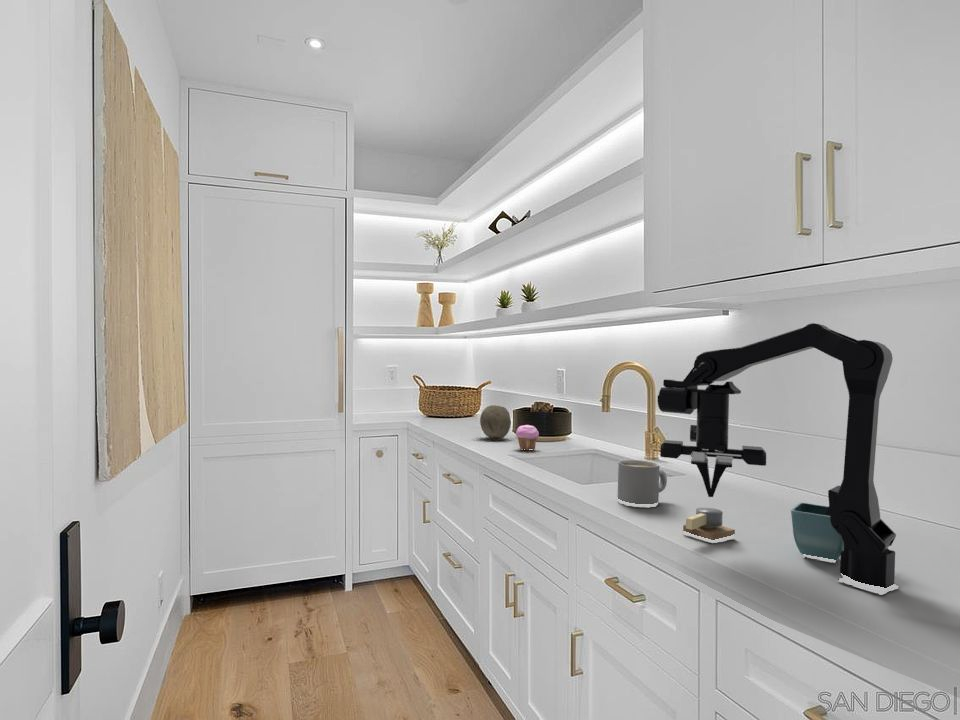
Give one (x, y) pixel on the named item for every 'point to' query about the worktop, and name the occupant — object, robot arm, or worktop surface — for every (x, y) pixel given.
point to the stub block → (711, 531)
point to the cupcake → (527, 436)
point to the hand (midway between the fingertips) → (710, 496)
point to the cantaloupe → (495, 422)
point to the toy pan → (704, 518)
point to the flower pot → (815, 531)
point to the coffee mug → (640, 481)
